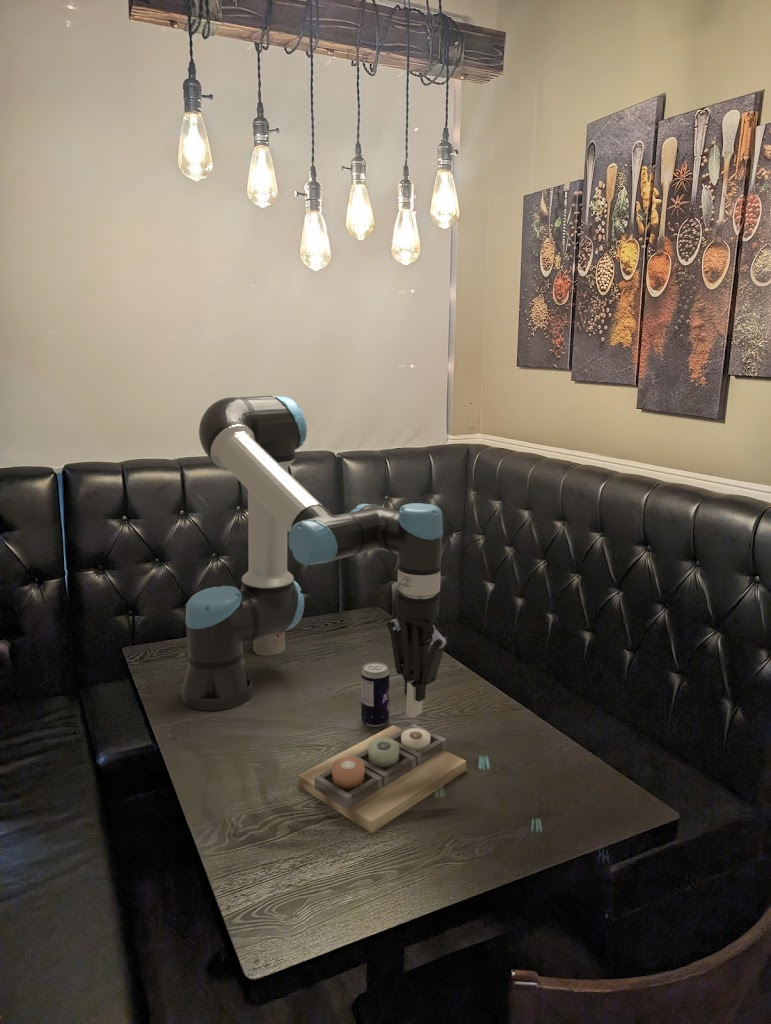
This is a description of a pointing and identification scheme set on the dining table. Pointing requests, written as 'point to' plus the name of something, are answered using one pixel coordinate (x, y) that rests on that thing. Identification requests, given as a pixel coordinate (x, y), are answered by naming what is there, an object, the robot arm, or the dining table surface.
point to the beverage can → (375, 694)
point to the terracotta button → (348, 772)
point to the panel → (385, 780)
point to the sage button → (383, 752)
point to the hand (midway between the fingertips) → (414, 713)
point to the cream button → (415, 739)
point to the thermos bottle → (270, 644)
